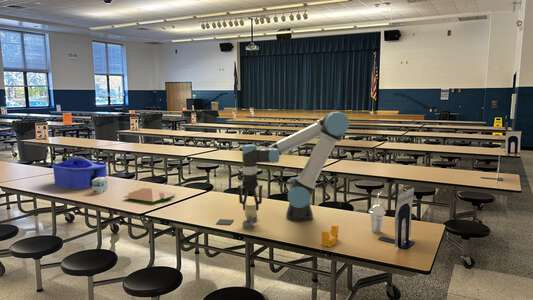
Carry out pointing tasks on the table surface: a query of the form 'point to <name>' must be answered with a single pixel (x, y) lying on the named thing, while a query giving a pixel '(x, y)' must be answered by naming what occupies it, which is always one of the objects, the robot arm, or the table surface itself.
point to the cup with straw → (376, 216)
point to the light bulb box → (99, 185)
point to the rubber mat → (224, 222)
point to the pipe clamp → (330, 236)
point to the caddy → (77, 172)
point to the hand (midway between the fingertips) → (251, 216)
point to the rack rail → (249, 222)
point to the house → (149, 195)
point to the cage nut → (250, 210)
